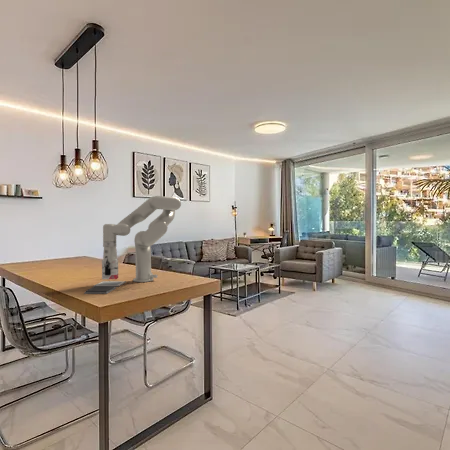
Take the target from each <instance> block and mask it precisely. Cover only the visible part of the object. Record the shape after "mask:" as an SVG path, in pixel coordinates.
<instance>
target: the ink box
mask: <svg viewBox="0 0 450 450" xmlns="http://www.w3.org/2000/svg"><path fill="white" fill-rule="evenodd" d="M107 263H109V262H107ZM107 265H108V264H107ZM108 266H109V265H108ZM110 268H111V275H105V266H104V262H103V259H101V280H117V279H119V259H118V258H117V259H114V260H113V263H112V264H110Z"/></svg>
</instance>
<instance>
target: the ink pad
mask: <svg viewBox="0 0 450 450" xmlns="http://www.w3.org/2000/svg"><path fill="white" fill-rule="evenodd" d="M116 287H117V286H94V285H93V286H92V287H90V288H89V289H88V288H87V289H86V290H85V291H84V294H85V295H95V294H96V295H98V294H99V295H100V294H101V295H104V294H105V295H107V294H109V293H111V292H112V291H114V290H116Z"/></svg>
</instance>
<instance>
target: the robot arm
mask: <svg viewBox="0 0 450 450" xmlns="http://www.w3.org/2000/svg"><path fill="white" fill-rule="evenodd" d="M181 206H182V202H181V200H180V198H178V197H177V196H176V197H175V196H164V195H163V196H162V195H154V196H151V197H149V198H148V199H147V200H145V201H144V202H143V203H142V204H140V206H138V207H137V208H135V209H134V210H133V211H132V212H131V213H129V214H128V215H127V216H125V217H124V218H123V219H122V220H120V221H119V222H118V223H117V224H115V223H105V224H103V225H102V226H103V227H102V248H103V255H102V256H103V257H102V260H103V262H104V266H105V275H111V268H110V264H112V263H113V260H114V259H118V255H117V254H118V251H117V236H120V237H121V236H122V237H124V236H125V237H126V236H127V235H128V236H129V235H130V233H131V228H132V227H134V226H136V225H137V224H139V223H142V222H143V221H145V220H146V219H148V218H149V216H150V215H152V214H153V213H154V212H156V211H157V210H162V212H161V214H159V215H158V216H157V217H156V218H155V219H153V220H152V221H150V223H149V225H148V226H147V229H146V230H145V231H144V230H140V231H138V232H137V233H136V234H135V236H134V241H133V242H134V249H135V277H134V278H133V279H132V281H133V282H135V283H147V282H149V283H150V282H152V281H154V278H155V279H157V278H158V274H153V272H152V251H151V248H152V247H151V246H153V245H155V244H156V243H157V242H158V241H159V240H160V239H161V238H163V237H164V236H165V234H167V231H168V226H169V225H170V224H171V223H172V222H173V221H174V219H175V214H176V211H177V210H179V209H180V208H181ZM107 262H109V263H107ZM107 264H108V265H109V266H108V265H107Z"/></svg>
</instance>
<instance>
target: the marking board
mask: <svg viewBox="0 0 450 450" xmlns="http://www.w3.org/2000/svg"><path fill="white" fill-rule="evenodd" d="M125 283H127V281H126V280H125V281H123V280H121V281H120V280H119V281H118V280H115V281H114V280H113V281H111V280H110V281H109V280H108V281H106V280H102V281H101V282H99V283H96V284H94V285H93V287H94V286H114V287H120V286H121V285H124V284H125Z"/></svg>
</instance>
